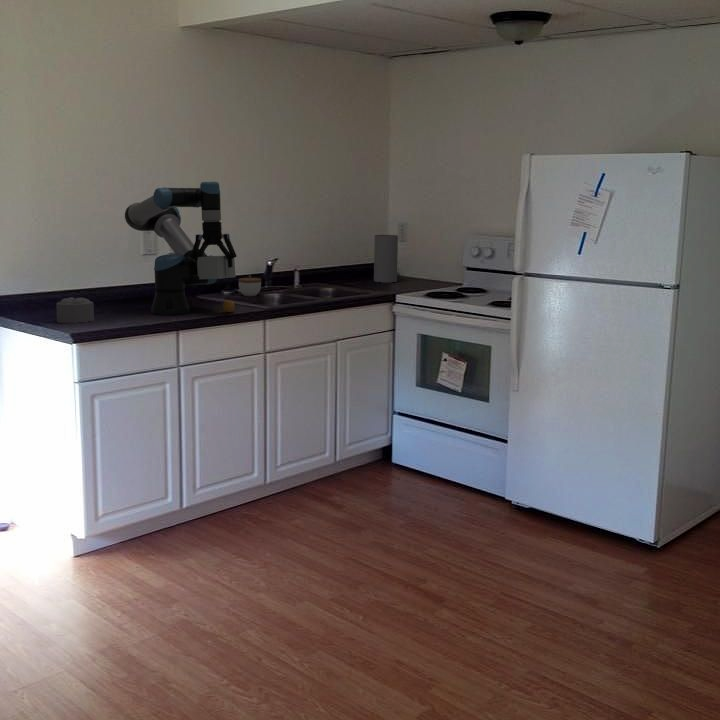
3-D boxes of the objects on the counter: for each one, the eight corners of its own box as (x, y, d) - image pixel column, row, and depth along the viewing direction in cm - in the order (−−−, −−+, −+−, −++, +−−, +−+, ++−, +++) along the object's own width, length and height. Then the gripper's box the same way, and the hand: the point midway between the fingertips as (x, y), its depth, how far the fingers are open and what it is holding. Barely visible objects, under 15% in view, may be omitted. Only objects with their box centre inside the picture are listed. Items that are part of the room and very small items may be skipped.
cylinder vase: (401, 282, 489) (402, 235, 484) (386, 283, 480) (387, 236, 475) (384, 280, 497) (385, 234, 492) (369, 281, 488) (369, 235, 483)
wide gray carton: (219, 278, 354) (217, 256, 353) (199, 279, 359) (197, 257, 358) (235, 277, 363) (234, 255, 361) (216, 277, 368) (214, 255, 367)
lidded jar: (234, 296, 420) (234, 275, 418) (245, 293, 429) (245, 273, 428) (254, 297, 416) (254, 277, 414) (265, 294, 426) (265, 275, 424)
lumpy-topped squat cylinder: (96, 321, 340) (95, 298, 338) (62, 324, 332) (61, 301, 330) (86, 318, 348) (85, 295, 346) (52, 320, 340) (51, 298, 338)
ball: (228, 313, 364) (228, 301, 363) (219, 312, 367) (219, 300, 366) (237, 312, 368) (237, 300, 367) (228, 311, 371) (228, 299, 370)
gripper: (243, 220, 356) (245, 275, 360) (189, 222, 364) (192, 275, 367) (235, 220, 349) (237, 276, 353) (179, 222, 357) (182, 276, 360)
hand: (214, 276), depth 360 cm, fingers open, 12 cm apart
